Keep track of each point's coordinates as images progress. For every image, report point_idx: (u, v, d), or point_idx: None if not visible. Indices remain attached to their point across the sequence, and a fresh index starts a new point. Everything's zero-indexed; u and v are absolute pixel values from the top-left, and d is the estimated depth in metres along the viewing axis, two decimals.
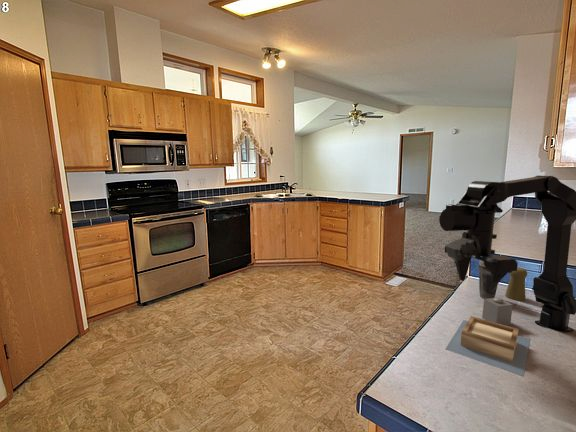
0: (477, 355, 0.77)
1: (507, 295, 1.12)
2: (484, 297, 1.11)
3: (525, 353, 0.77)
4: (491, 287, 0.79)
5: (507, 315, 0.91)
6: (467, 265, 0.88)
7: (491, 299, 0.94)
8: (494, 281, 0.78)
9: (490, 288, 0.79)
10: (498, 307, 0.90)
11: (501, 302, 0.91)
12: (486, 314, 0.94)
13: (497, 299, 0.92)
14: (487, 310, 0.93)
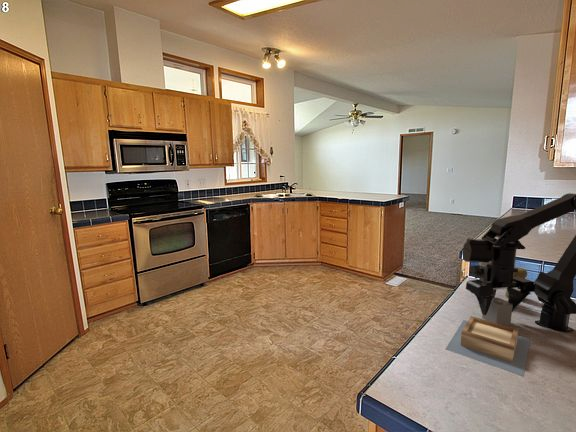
0: (477, 355, 0.77)
1: (507, 295, 1.12)
2: None
3: (525, 353, 0.77)
4: (482, 309, 0.92)
5: (507, 315, 0.91)
6: (516, 300, 0.92)
7: None
8: (482, 304, 0.91)
9: (482, 309, 0.92)
10: (498, 307, 0.90)
11: (501, 302, 0.91)
12: (486, 314, 0.94)
13: (497, 299, 0.92)
14: None
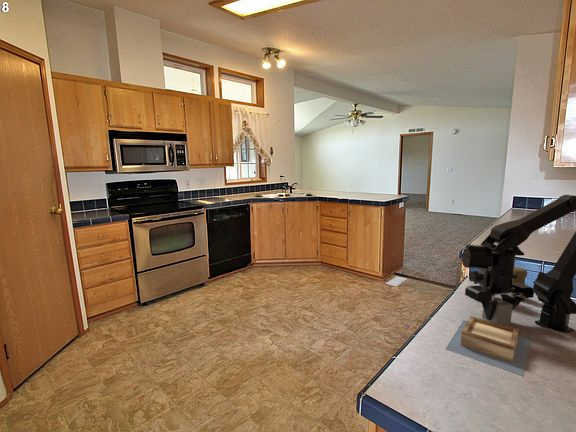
0: (477, 355, 0.77)
1: None
2: None
3: (525, 353, 0.77)
4: (487, 314, 0.93)
5: (507, 315, 0.91)
6: None
7: None
8: (487, 309, 0.92)
9: (486, 314, 0.93)
10: (498, 306, 0.90)
11: (501, 302, 0.91)
12: None
13: (497, 299, 0.92)
14: None
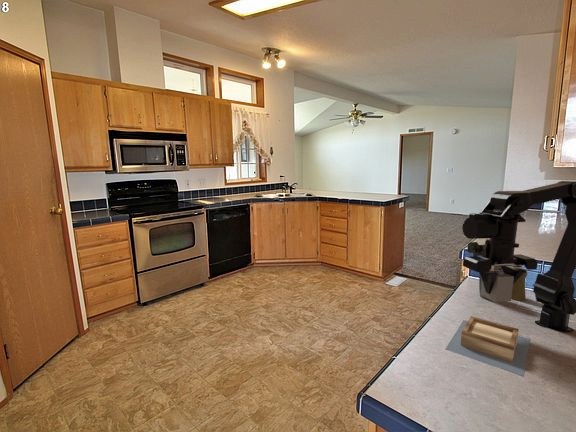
0: (477, 355, 0.77)
1: None
2: (484, 297, 1.11)
3: (525, 353, 0.77)
4: (486, 287, 0.86)
5: (508, 287, 0.85)
6: None
7: None
8: (486, 281, 0.86)
9: (485, 287, 0.87)
10: (498, 278, 0.84)
11: (501, 274, 0.85)
12: None
13: (497, 271, 0.86)
14: None
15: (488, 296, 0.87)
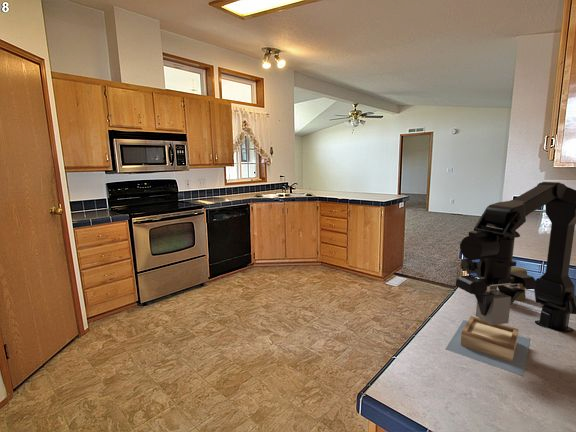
0: (477, 355, 0.77)
1: None
2: None
3: (525, 353, 0.77)
4: (481, 308, 0.79)
5: (505, 309, 0.78)
6: None
7: None
8: (481, 302, 0.79)
9: (481, 309, 0.80)
10: (494, 299, 0.77)
11: (498, 294, 0.78)
12: None
13: (493, 291, 0.79)
14: None
15: (484, 318, 0.80)
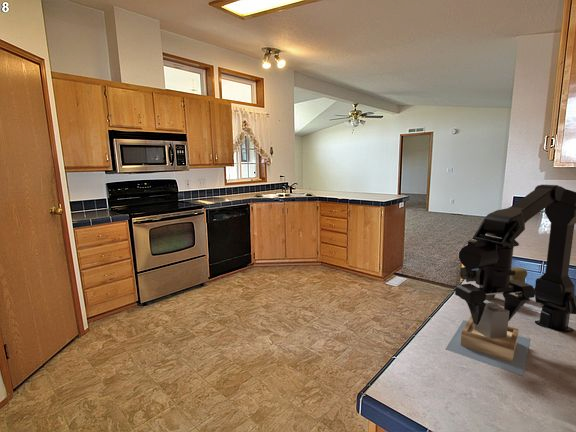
0: (477, 355, 0.77)
1: None
2: None
3: (525, 353, 0.77)
4: (474, 317, 0.79)
5: (503, 323, 0.78)
6: (513, 307, 0.79)
7: None
8: (473, 311, 0.79)
9: (473, 318, 0.80)
10: (493, 313, 0.77)
11: (496, 308, 0.79)
12: (479, 322, 0.81)
13: (491, 304, 0.80)
14: None
15: (482, 332, 0.80)
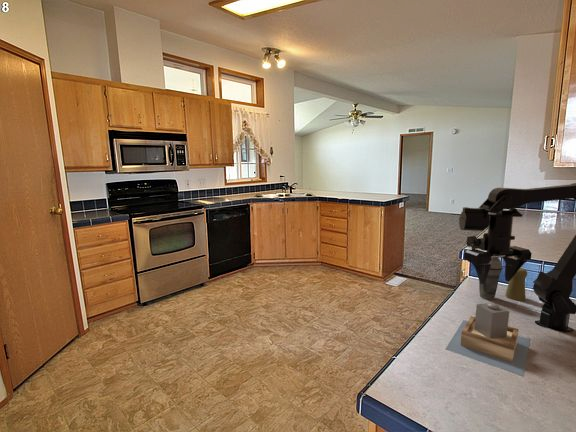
0: (477, 355, 0.77)
1: (507, 295, 1.12)
2: (484, 297, 1.11)
3: (525, 353, 0.77)
4: (480, 278, 0.92)
5: (503, 323, 0.78)
6: (513, 269, 0.92)
7: (485, 304, 0.82)
8: (480, 273, 0.91)
9: (480, 279, 0.92)
10: (493, 313, 0.77)
11: (496, 308, 0.79)
12: (479, 322, 0.81)
13: (491, 304, 0.80)
14: (480, 317, 0.81)
15: (482, 332, 0.80)
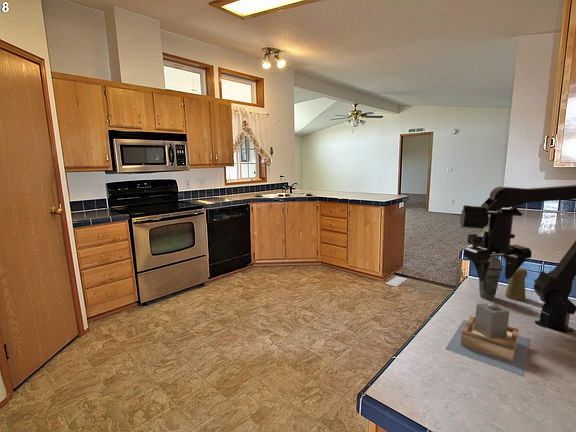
0: (477, 355, 0.77)
1: (507, 295, 1.12)
2: (484, 297, 1.11)
3: (525, 353, 0.77)
4: (479, 275, 0.94)
5: (503, 323, 0.78)
6: (513, 267, 0.94)
7: (485, 304, 0.82)
8: (479, 270, 0.93)
9: (479, 276, 0.94)
10: (493, 313, 0.77)
11: (496, 308, 0.79)
12: (479, 322, 0.81)
13: (491, 304, 0.80)
14: (480, 317, 0.81)
15: (482, 332, 0.80)
